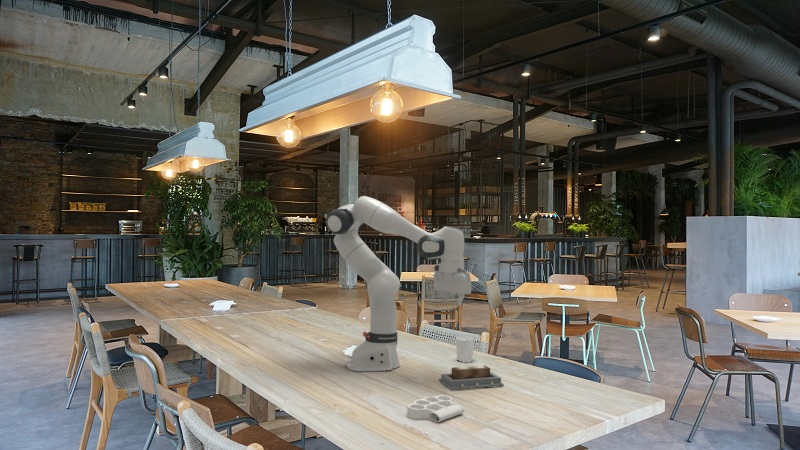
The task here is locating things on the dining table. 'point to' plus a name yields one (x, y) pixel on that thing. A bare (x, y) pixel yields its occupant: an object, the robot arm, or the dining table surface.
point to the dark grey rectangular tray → (470, 382)
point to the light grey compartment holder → (434, 408)
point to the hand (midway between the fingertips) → (451, 303)
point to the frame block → (470, 372)
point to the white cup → (464, 348)
